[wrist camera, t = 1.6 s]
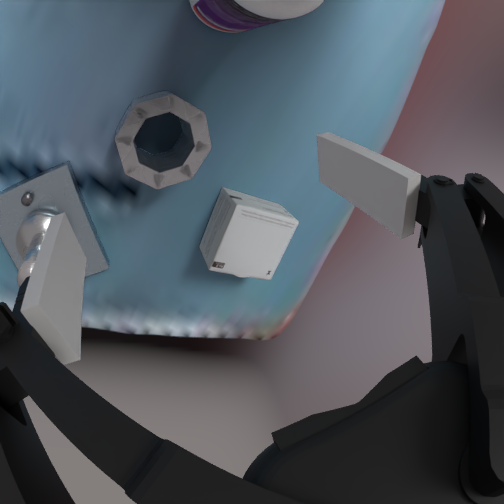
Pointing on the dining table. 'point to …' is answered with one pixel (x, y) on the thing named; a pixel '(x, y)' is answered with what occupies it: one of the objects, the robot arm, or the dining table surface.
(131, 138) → the tube
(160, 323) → the dining table surface
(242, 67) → the dining table surface
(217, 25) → the pill bottle
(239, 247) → the small box
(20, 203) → the block
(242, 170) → the dining table surface
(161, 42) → the dining table surface
